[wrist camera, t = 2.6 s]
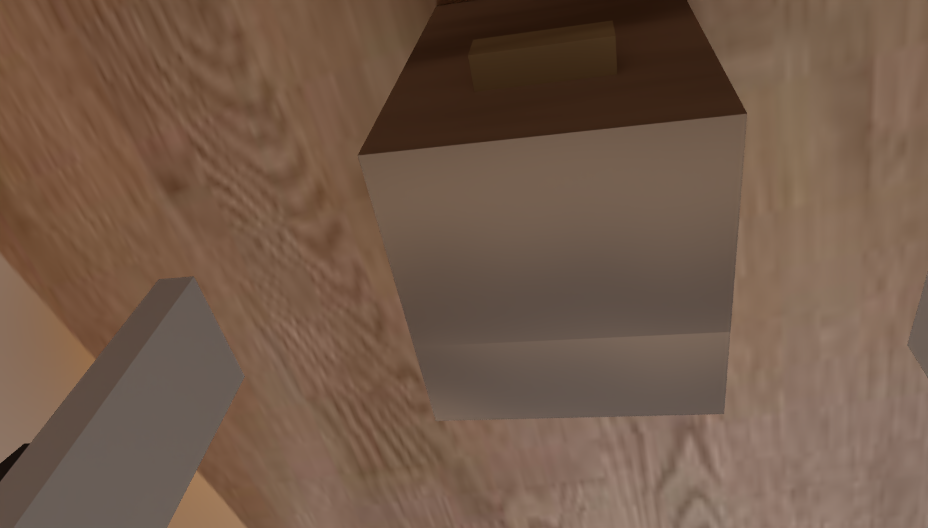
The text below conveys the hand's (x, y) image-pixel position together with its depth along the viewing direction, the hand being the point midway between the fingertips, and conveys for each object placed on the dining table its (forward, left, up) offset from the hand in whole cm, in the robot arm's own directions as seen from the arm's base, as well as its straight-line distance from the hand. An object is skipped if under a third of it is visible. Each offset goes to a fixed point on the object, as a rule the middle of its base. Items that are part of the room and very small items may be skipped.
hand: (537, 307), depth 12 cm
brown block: (+1, 0, -12) cm, 12 cm away
